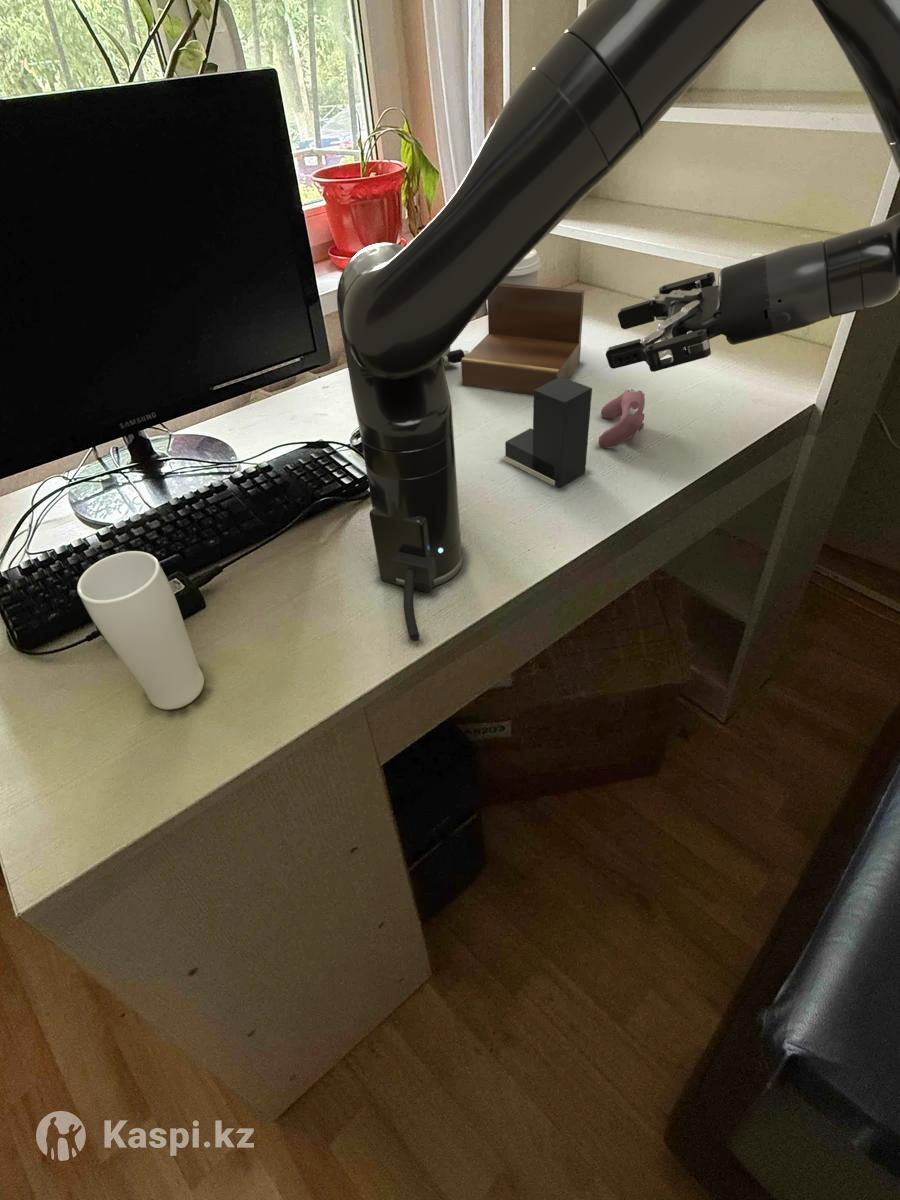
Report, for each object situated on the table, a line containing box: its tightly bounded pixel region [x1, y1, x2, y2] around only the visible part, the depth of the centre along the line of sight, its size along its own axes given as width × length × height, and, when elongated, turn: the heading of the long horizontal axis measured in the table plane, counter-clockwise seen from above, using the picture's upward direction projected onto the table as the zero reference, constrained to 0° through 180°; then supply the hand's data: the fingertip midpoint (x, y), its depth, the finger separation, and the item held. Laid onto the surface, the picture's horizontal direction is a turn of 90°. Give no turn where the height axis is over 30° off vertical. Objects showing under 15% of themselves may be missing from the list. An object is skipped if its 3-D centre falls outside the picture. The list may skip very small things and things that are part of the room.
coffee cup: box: [501, 248, 542, 286], centre depth 118 cm, size 10×10×15 cm
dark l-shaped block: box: [503, 377, 593, 489], centre depth 88 cm, size 10×5×12 cm, turn 42°
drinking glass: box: [76, 550, 205, 711], centre depth 62 cm, size 7×7×15 cm
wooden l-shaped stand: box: [460, 283, 585, 396], centre depth 110 cm, size 13×16×12 cm
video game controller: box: [598, 387, 646, 449], centre depth 96 cm, size 10×5×7 cm, turn 168°
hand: (614, 339), depth 76 cm, fingers open, 8 cm apart
